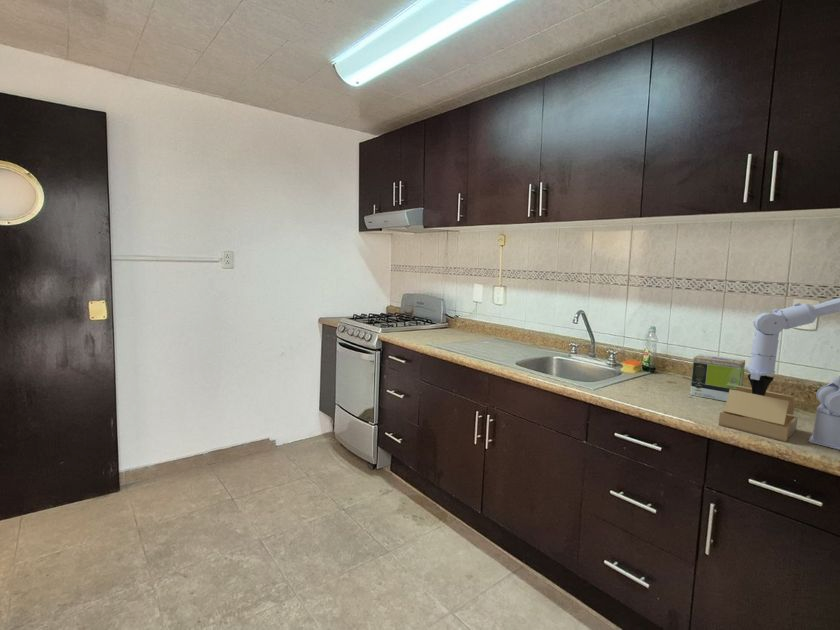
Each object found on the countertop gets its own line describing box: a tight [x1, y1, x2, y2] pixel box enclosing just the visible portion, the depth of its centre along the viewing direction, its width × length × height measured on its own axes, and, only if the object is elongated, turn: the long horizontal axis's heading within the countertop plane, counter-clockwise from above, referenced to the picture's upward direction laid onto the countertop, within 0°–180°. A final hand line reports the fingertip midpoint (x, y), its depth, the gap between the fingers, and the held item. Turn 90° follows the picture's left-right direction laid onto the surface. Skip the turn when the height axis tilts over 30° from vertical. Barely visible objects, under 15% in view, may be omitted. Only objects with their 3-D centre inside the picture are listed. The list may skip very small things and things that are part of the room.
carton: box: [718, 408, 799, 443], centre depth 132 cm, size 16×15×4 cm
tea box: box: [690, 354, 746, 402], centre depth 163 cm, size 15×10×15 cm, turn 48°
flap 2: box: [737, 386, 795, 416], centre depth 135 cm, size 14×7×1 cm
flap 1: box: [723, 389, 789, 425], centre depth 128 cm, size 14×7×1 cm
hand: (757, 400), depth 129 cm, fingers closed, pressing on flap 1
